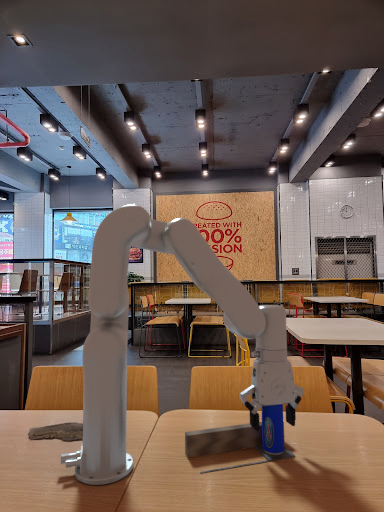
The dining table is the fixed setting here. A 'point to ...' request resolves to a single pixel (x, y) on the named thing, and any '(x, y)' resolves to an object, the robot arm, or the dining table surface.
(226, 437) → the guide fence
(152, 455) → the dining table surface
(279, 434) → the beverage can
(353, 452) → the dining table surface
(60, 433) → the wooden fragment
